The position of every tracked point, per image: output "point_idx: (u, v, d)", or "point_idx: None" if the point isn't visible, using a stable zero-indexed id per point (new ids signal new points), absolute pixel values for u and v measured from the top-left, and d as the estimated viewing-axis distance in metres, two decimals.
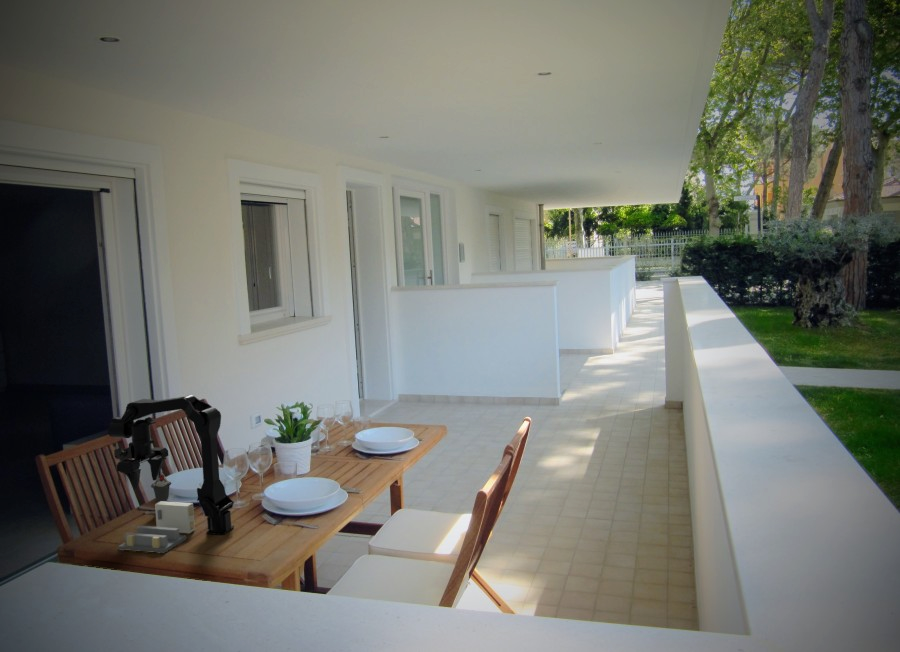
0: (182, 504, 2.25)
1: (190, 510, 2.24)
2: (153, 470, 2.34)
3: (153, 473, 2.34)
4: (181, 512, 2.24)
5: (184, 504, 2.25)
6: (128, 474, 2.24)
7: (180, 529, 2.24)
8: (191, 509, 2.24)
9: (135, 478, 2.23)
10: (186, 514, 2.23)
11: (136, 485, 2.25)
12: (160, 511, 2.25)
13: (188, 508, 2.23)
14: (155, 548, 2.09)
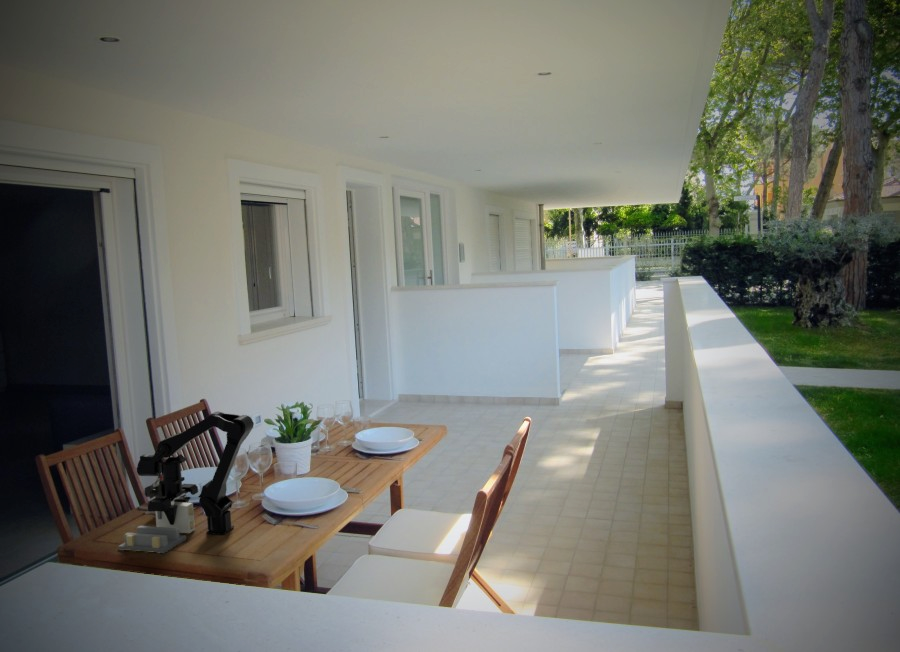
0: (182, 504, 2.25)
1: (190, 510, 2.24)
2: None
3: None
4: (181, 512, 2.24)
5: (184, 504, 2.25)
6: None
7: (180, 529, 2.24)
8: (191, 509, 2.24)
9: (172, 514, 2.23)
10: (186, 514, 2.23)
11: (172, 521, 2.24)
12: (160, 511, 2.25)
13: (188, 508, 2.23)
14: (155, 548, 2.09)
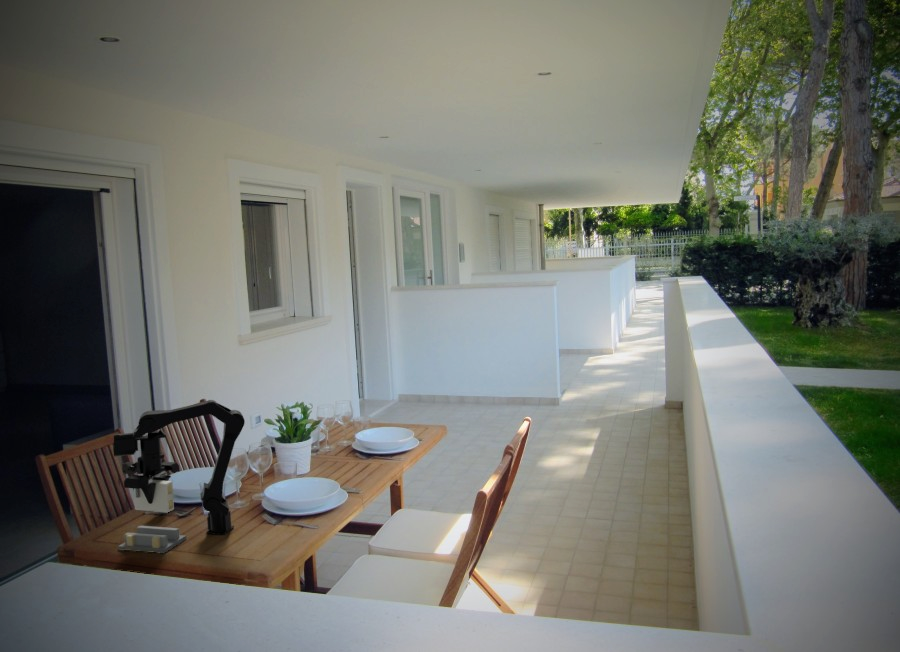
0: (161, 482, 2.15)
1: (168, 488, 2.14)
2: None
3: None
4: (159, 490, 2.14)
5: (163, 482, 2.15)
6: (143, 488, 2.13)
7: (158, 508, 2.15)
8: (170, 487, 2.14)
9: (150, 492, 2.13)
10: (164, 492, 2.14)
11: (151, 499, 2.14)
12: (138, 489, 2.16)
13: (167, 486, 2.14)
14: (155, 548, 2.09)
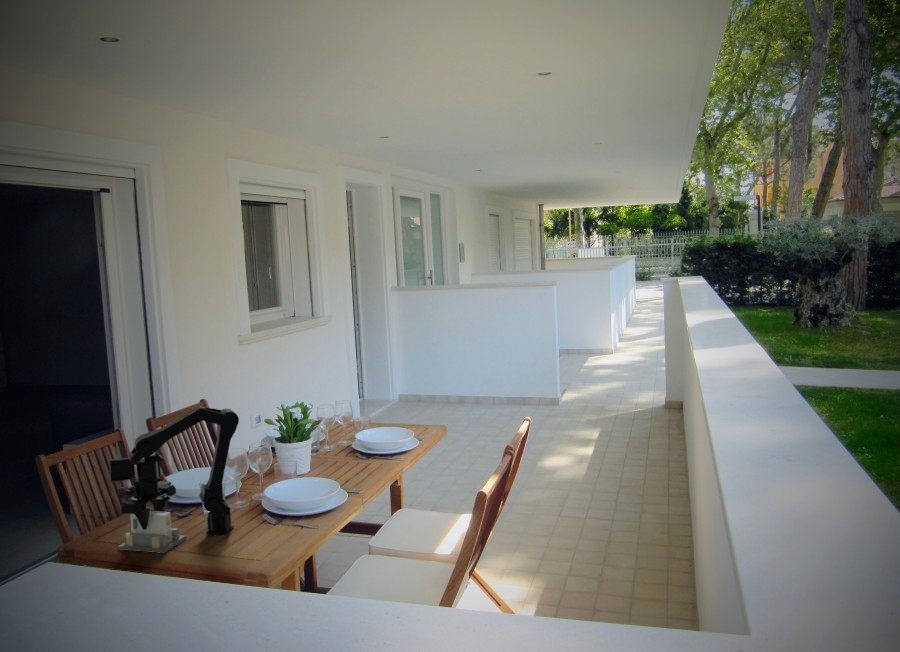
0: (159, 513, 2.14)
1: (167, 519, 2.13)
2: None
3: None
4: (157, 521, 2.12)
5: (161, 513, 2.14)
6: (137, 514, 2.10)
7: None
8: (168, 518, 2.13)
9: (144, 518, 2.10)
10: (162, 524, 2.12)
11: (145, 525, 2.11)
12: (135, 520, 2.14)
13: (165, 517, 2.12)
14: (155, 548, 2.09)
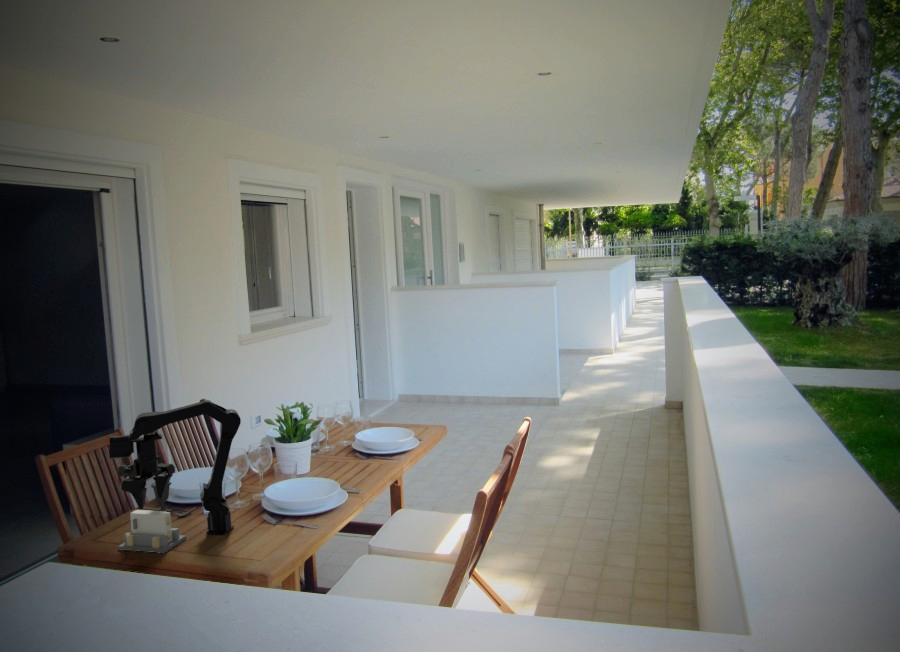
0: (159, 513, 2.14)
1: (167, 519, 2.13)
2: (158, 487, 2.21)
3: (159, 491, 2.20)
4: (157, 521, 2.12)
5: (161, 513, 2.14)
6: (133, 493, 2.10)
7: None
8: (168, 518, 2.13)
9: (141, 497, 2.10)
10: (162, 524, 2.12)
11: (142, 504, 2.11)
12: (135, 520, 2.14)
13: (165, 517, 2.12)
14: (155, 548, 2.09)
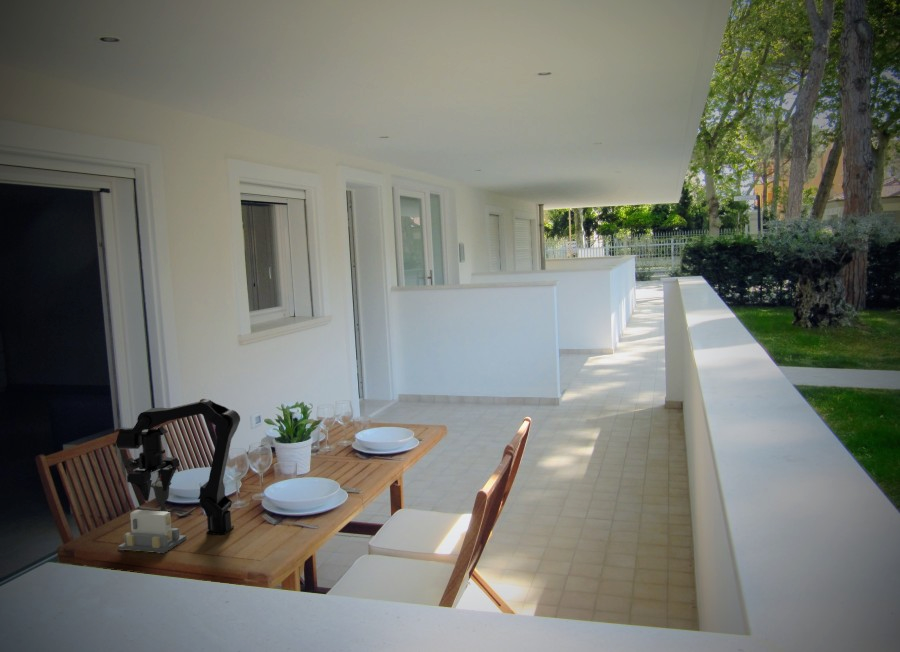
0: (159, 513, 2.14)
1: (167, 519, 2.13)
2: (163, 480, 2.29)
3: (164, 484, 2.29)
4: (157, 521, 2.12)
5: (161, 513, 2.14)
6: (139, 485, 2.18)
7: None
8: (168, 518, 2.13)
9: (146, 489, 2.18)
10: (162, 524, 2.12)
11: (147, 496, 2.19)
12: (135, 520, 2.14)
13: (165, 517, 2.12)
14: (155, 548, 2.09)
